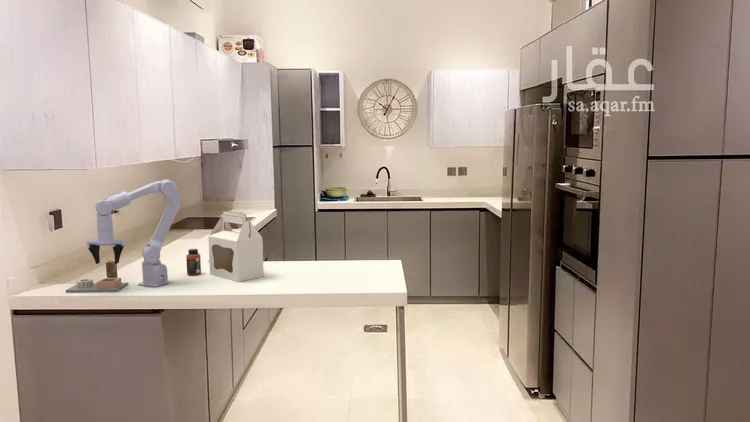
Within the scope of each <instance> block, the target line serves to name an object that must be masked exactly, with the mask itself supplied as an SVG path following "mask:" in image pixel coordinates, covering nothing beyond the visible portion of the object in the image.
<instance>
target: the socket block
mask: <svg viewBox="0 0 750 422" xmlns="http://www.w3.org/2000/svg"><path fill="white" fill-rule="evenodd" d="M127 285H128V286H129V282H122V277H118V278H107V277H103V278H101V279H99V280H97V281H95V282H94V279H93V278H80V279H78V280H76V284H74V285H73V286H71V287H70V288H67V289H66V290H65V293H66V294H67V293H71V294H72V293H75V294H76V293H77V294H78V293H119V292H120V291H122V290H123V289H124V288H126V287H128V286H127ZM125 286H126V287H125ZM123 287H124V288H123ZM122 288H123V289H122ZM119 290H120V291H119Z"/></svg>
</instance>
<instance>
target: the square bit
mask: <svg viewBox="0 0 750 422" xmlns="http://www.w3.org/2000/svg"><path fill="white" fill-rule="evenodd" d="M105 270H106V271H105V272H106V278H119V277H118V263H117V264H115V260H108V261H106V262H105Z"/></svg>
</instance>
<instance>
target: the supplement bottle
mask: <svg viewBox="0 0 750 422" xmlns="http://www.w3.org/2000/svg"><path fill="white" fill-rule="evenodd" d="M187 251H188V253H187V255H186V256H185V257H186V259H185V261H186V274H187V275H188V276H193V277H194V276H198V275H201V274H202V267H201V265H202V264H201V254H200V253H199V252H198V251H199V250H198V248H190V249H188V250H187Z"/></svg>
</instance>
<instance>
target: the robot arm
mask: <svg viewBox="0 0 750 422" xmlns="http://www.w3.org/2000/svg"><path fill="white" fill-rule="evenodd" d="M160 193H161V195H162V196H163V197H164V199H165V201H166V203H167V205H166V207H165V208H164V211H163V213H162V216H161V217H160V220H159V222H158V224H157V226H156V228H155V230H154V232H153V234H152V236H151V238H150V240H149V241H148V242H147V244H146V246H144V247H143V249H141V255H142V257H143V260H142V261H141V269H142V272H141V273H142V282H139V283H138V284H137V285H138V286H145V287H154V288H155V287H159V286H163V285H166V284H169V283H170V281H168V280H169V278H168V276H169V275H168V267H167V265H166V264H164V263H162V260H160V258H161V251H162V247H163V244H164V242H165V239H166V237H167V234H168V233H169V231H170V228H171V226H172V224H173V223H174V220H175V217H176V215H177V213H178V211H179V210H180V207H181V199H180V189H179V187H178V186H177V184H176V183H175V182H174V181H172V180H170V179H168V178H165V179H161V180H158V181H157V180H156V181H154V182H151V183H148V184H146V185H144V186H141V187H140V188H136V189H135V190H132V191H130V192H126V191H117V193H115V194H113V195H111V196H105V197H104V198H105V199H99V200H97V202H96V203H95V211H96V231H97V239H96V240H95V239H93V240H86V242H85V244H86V247H87V248H88V250H89V252H90V253H91V255H92V257H93V260H94V262H95V265H99V264H100V263H101V260H100V259H101V258H100V248H101V246H102V247H103V246H106V247H107V246H109V247H111V246H112V249H113V250H112V251H113V254H114V261H115V264H117V265H118V264H119V263H120V258H121V255H122V251H123V250H124V247H125V246H126V244H127V243H126V240H125V239H115V238H114V226H113V225H114V224H113V217H112V212H113V211H118V210H120V209H122V208H124V207H127V206H129V205H131V203H132V201H134V200H136V199H138V198H141V197H144V196H147V195H150V194H159V195H160Z"/></svg>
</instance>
